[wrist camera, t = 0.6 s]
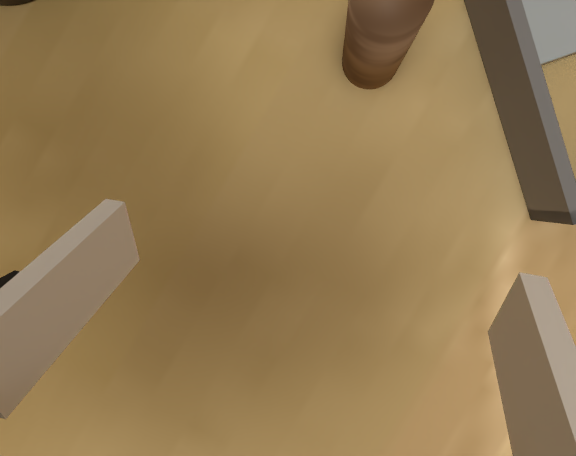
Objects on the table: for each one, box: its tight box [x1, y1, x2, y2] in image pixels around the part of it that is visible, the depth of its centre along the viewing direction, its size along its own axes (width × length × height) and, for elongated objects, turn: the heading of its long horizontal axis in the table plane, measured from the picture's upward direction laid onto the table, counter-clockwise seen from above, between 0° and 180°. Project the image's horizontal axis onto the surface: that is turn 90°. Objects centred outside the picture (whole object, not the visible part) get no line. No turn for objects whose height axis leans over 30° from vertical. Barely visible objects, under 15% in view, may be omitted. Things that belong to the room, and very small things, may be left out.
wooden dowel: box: [342, 0, 434, 89], centre depth 29 cm, size 5×5×12 cm
